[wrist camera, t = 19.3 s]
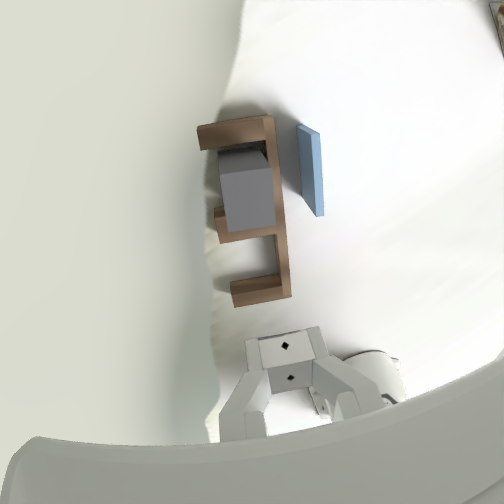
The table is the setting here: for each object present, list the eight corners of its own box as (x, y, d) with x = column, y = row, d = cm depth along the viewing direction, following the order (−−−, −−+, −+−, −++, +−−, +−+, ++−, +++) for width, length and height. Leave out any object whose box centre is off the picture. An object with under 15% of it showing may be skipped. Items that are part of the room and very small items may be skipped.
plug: (261, 191, 33) (276, 225, 26) (224, 196, 32) (228, 232, 26) (257, 145, 30) (271, 167, 23) (217, 151, 30) (219, 175, 23)
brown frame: (313, 279, 40) (324, 304, 35) (232, 294, 39) (236, 322, 35) (302, 110, 28) (318, 116, 24) (197, 126, 28) (195, 134, 24)
